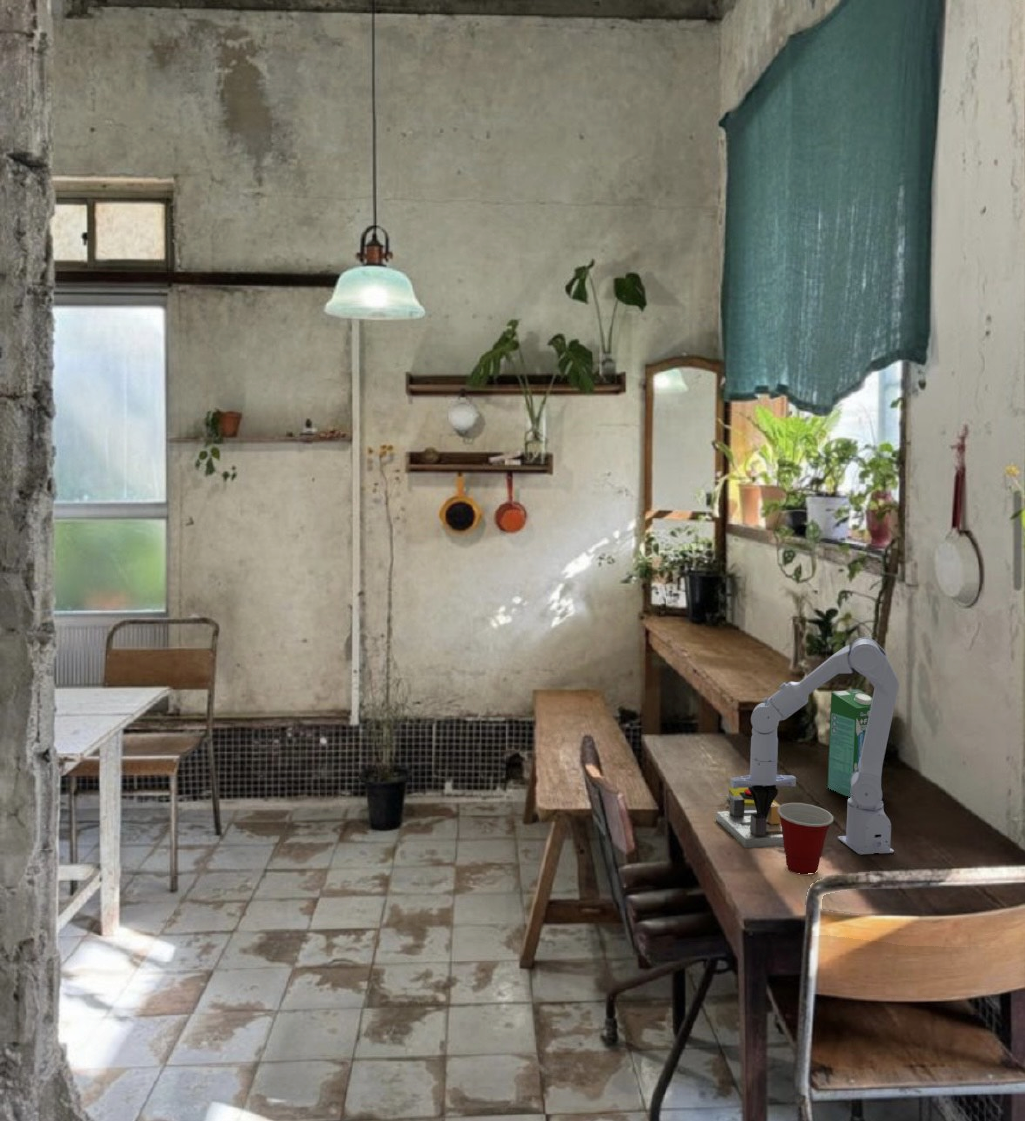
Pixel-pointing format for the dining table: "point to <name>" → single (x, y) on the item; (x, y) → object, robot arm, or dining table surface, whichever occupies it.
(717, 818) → the slider control panel
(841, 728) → the milk carton
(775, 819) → the breaker
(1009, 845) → the dining table surface
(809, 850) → the plastic cup
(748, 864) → the dining table surface
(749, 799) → the emergency button
